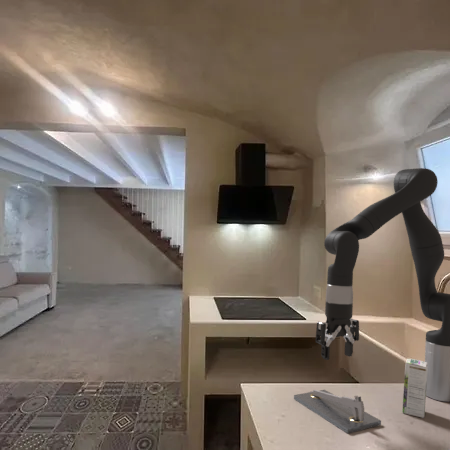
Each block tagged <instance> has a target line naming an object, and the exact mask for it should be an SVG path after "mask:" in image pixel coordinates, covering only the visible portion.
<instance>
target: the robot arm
mask: <svg viewBox="0 0 450 450" xmlns="http://www.w3.org/2000/svg"><path fill="white" fill-rule="evenodd" d="M437 187H438V177H437V175H436V173H435V172H434V171H433V170H431V169H429V168H425V167H423V168H422V167H421V168H420V167H419V168H408V169H407V168H406V169H401V170H399V171H398V172H397V173H396V174H395V176H394V178H393V190H394V193H392V194H391V195H388V196H387V197H385V198H383V199H381V200H378V201H376V202H374V203H372V204H370V205H369V206H367V207H366V208H364V209H363V210H362V211H360V212H359V213H358V214H357V215H355V216H354V217H353V218H352V219H350V220H348V221H346V222H344V223H343V224H341V225H339V226H337V227H335V228H334V229H332V231H330V232H329V233H328V234H326V237H325V238H324V242H323V243H324V248H325V250H326V251H327V252H328V253H330V254H331V255H335V258H334V262H333V263H332V264H329V266H328V268H327V279H326V280H327V281H326V283H327V284H326V289H325V307H324V309H325V310H324V315H325V318H326V320H325V322H324V321H323V322H322V321H317V322H316V331H315V343H317V344H318V345H321V349H320V350H321V352H320V355H321V358H322V359H323V360H325V361H328V360H330V349H331V347H330V345H331V344H332V342H333V341H335V339H336V338H339V337H342V338H343V339H344V340H345V342H344V355H345V356H347V357H349V358H350V357H352V356H353V353H354V343H355V342H358V341H359V340H360V321H359V320H358V319H354V318H353V311H354V310H353V309H354V306H353V305H354V287H353V285H354V284H353V283H354V282H353V279H354V278H353V277H354V269H355V267H356V263H357V258H358V256H359V252H360V242H359V241H360V240H364V239H368V238H369V237H371V236H372V235H373V234H374V233H376V232H377V231H378V230H380V229H381V228H382V227H383V226H384V225H385V224H387V223H388V222H390V221H391V220H392V219H394V218H396V217H397V216H398V215H400V214H402V217H403V221H404V225H405V228H406V232H407V233H406V234H407V236H408V242H409V243H408V244H409V248H410V252H411V257H412V259H413V264H414V267H415V268H414V269H415V273H416V279H417V285H418V294H419V295H418V296H419V303H420V309H421V312H422V314H423V315H424V316H425V318H427V319H429V320H432V321H438V322H440V323H441V327H440V328H439V329H433V330H428V331H427V332H425V346H424V347H425V349H424V350H425V351H424V362H427V363H428V367H427V386H426V397H428V398H430V399H433V400H435V401H439V402H450V293H445V292H439V291H437V288H436V281H435V280H436V276H437V273H438V271H439V269H440V267H441V266H442V263H443V262H444V258H445V249H444V244H443V241H442V236H441V233H440V232H439V229H438V228H437V227H436V225H434V223H433V222H432V221H431V219H430V218H429V217H428V215H427V214H426V213H425V211H424V209H423V206H422V203H421V202H422V201H424V200H426V199H427V198H429V197H430V196H432V195H433V194H434V193H435V192H436V191H437Z"/></svg>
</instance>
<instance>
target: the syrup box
mask: <svg viewBox="0 0 450 450" xmlns="http://www.w3.org/2000/svg"><path fill="white" fill-rule="evenodd" d="M427 367H428V363H427V362H425V360H420V359H416V358H415V359H414V358H406V361H405V366H404V378H403V379H404V381H403V395H402V399H403V400H402V413H403V414H404V415H405V414H406V415H408V416H409V415H410V416H414V417H418V418H422V419H425V414H426V402H427V401H426V400H427V396H426V386H427Z"/></svg>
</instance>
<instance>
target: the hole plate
mask: <svg viewBox="0 0 450 450" xmlns="http://www.w3.org/2000/svg"><path fill="white" fill-rule="evenodd" d="M319 391H322V392H325V393H329V394H332V395H334V394H333V393H332V392H330V391H328V390H326V389H321V390H319ZM310 392H311V391H308V392H304V393H299V394H298V393H297V394H294V395H293V400H294V401H295V402H298V403H299V404H301V405H302V406H304V407H306V409H309V410H310V411H311V412H313V413H315V414H316V413H317V415H318V416H319V415H320V416H319V417H321V418H323V419H324V418H325V419H324V420H325V421H327V422H329V423H330V424H332V425H333V426H335V427H336V428H338V429H340V430H342V431H343V432H344V433H345V434H352V433H355V432H358V431H359V432H360V431H363V430H367V428H368V429H371V428H374V427H378V426H381V425H382V420H380V419H379V418H377V417H375V416H373V415H372V414H369V413H368V412H366V411H364V421H360V419H359V420H355V418H354V415H353V412H352V408H346V407H343V405H342V404H341V403H338V402H335V401H331V400H328V399H325V398H321V397H318V396H314V395H313V393H310ZM358 415H359V412H358ZM358 417H359V416H358Z"/></svg>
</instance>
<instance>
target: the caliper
mask: <svg viewBox="0 0 450 450" xmlns="http://www.w3.org/2000/svg"><path fill="white" fill-rule="evenodd" d="M309 392H310V393H313V395H314V396H318V397H321V398H325V399H328V400H331V401H335V402H338V403H341V404H342V405H343V407H346V408H352V412H353V415H354V418H355V420H359V419H360V421H364V412H365V405H364V401H362V396H358V395H354V398H353V397H349V396H345V395H344V396H339V395H337V394H336V395H335V394H333V393H332V394H333V395H332V394H329V393H325V392H322V391H320V390H318V389H313V390H311V391H309ZM358 412H359V415H358ZM358 416H359V417H358Z"/></svg>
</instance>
